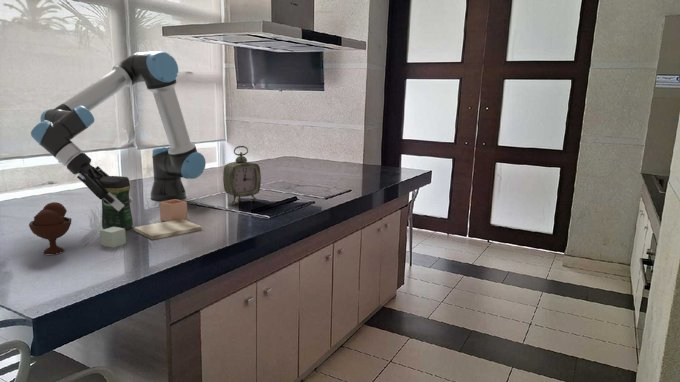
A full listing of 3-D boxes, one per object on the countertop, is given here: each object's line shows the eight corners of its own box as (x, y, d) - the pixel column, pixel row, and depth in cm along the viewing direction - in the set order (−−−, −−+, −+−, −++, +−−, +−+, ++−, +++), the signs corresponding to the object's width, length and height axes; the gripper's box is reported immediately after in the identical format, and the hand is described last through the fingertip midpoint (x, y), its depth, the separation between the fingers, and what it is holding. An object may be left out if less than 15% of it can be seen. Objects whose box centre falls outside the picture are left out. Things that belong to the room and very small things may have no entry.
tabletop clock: (232, 206, 208) (230, 147, 204) (221, 202, 215) (220, 145, 210) (261, 201, 218) (260, 145, 213) (250, 198, 225) (249, 143, 220)
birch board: (182, 221, 183) (182, 218, 182) (201, 229, 173) (201, 226, 173) (134, 230, 170) (134, 227, 170) (151, 239, 160) (151, 236, 160)
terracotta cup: (176, 216, 190) (175, 199, 189) (187, 219, 186) (186, 201, 185) (160, 220, 185) (159, 202, 183) (171, 223, 181) (171, 204, 179)
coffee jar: (136, 225, 176) (133, 175, 172) (123, 231, 168) (119, 178, 165) (112, 224, 178) (108, 173, 174) (98, 229, 170) (93, 177, 166)
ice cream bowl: (43, 246, 151) (38, 199, 148) (80, 246, 152) (76, 199, 149) (24, 258, 141) (18, 207, 138) (64, 257, 142) (60, 207, 139)
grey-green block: (114, 241, 158) (113, 226, 157) (126, 243, 156) (124, 228, 155) (101, 245, 154) (100, 230, 153) (112, 248, 152) (111, 232, 151)
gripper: (80, 162, 178) (128, 205, 182) (51, 172, 157) (107, 220, 162) (94, 148, 177) (142, 191, 182) (67, 155, 156) (122, 204, 161)
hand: (126, 205), depth 172 cm, fingers closed on coffee jar, 8 cm apart
